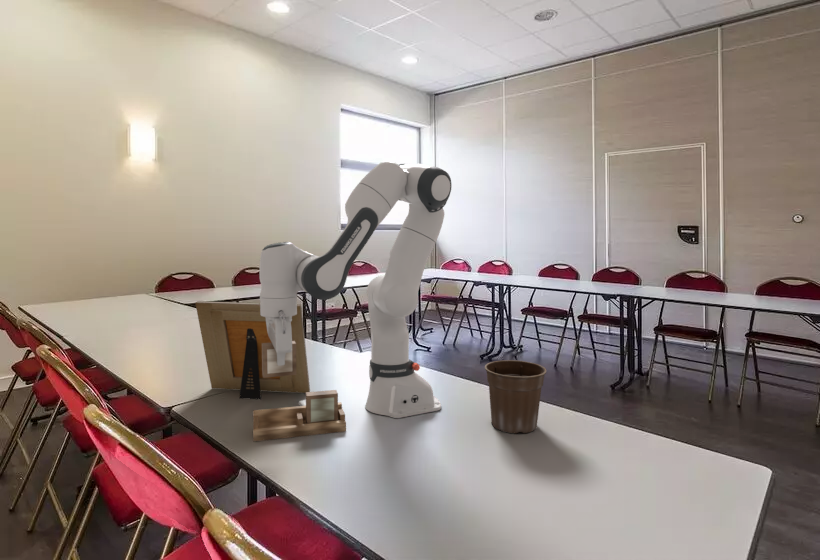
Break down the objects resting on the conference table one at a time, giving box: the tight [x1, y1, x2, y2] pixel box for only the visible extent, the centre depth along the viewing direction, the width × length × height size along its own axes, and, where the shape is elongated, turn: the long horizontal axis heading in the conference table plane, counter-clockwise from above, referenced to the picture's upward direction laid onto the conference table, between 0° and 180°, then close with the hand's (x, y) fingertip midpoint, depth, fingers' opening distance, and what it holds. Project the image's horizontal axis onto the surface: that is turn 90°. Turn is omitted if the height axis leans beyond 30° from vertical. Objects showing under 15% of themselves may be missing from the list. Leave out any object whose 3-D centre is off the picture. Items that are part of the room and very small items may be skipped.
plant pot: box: [484, 359, 547, 434], centre depth 131 cm, size 16×16×16 cm
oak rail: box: [252, 401, 347, 442], centre depth 126 cm, size 23×8×5 cm, turn 108°
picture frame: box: [194, 300, 311, 400], centre depth 151 cm, size 33×10×30 cm, turn 84°
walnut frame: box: [262, 341, 296, 378], centre depth 121 cm, size 8×3×8 cm, turn 112°
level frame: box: [305, 389, 339, 424], centre depth 127 cm, size 8×3×8 cm, turn 108°
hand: (279, 362), depth 121 cm, fingers closed on walnut frame, 3 cm apart
